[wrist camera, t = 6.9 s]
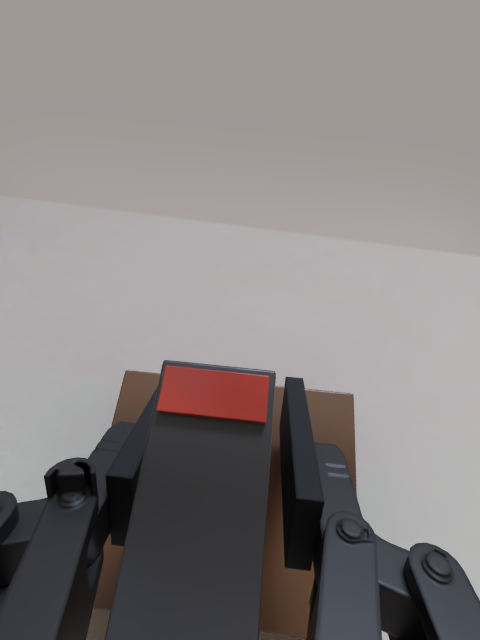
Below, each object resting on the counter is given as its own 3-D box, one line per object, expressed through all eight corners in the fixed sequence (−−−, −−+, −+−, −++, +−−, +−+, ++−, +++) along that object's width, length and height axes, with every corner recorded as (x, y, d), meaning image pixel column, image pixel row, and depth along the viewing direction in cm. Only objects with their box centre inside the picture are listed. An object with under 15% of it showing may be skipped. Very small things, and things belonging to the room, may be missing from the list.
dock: (341, 618, 16) (363, 649, 13) (94, 584, 17) (62, 606, 14) (339, 404, 20) (354, 392, 17) (140, 383, 21) (124, 368, 18)
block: (247, 562, 14) (254, 716, 5) (187, 554, 15) (88, 688, 5) (258, 428, 17) (277, 367, 7) (206, 422, 17) (160, 355, 8)
